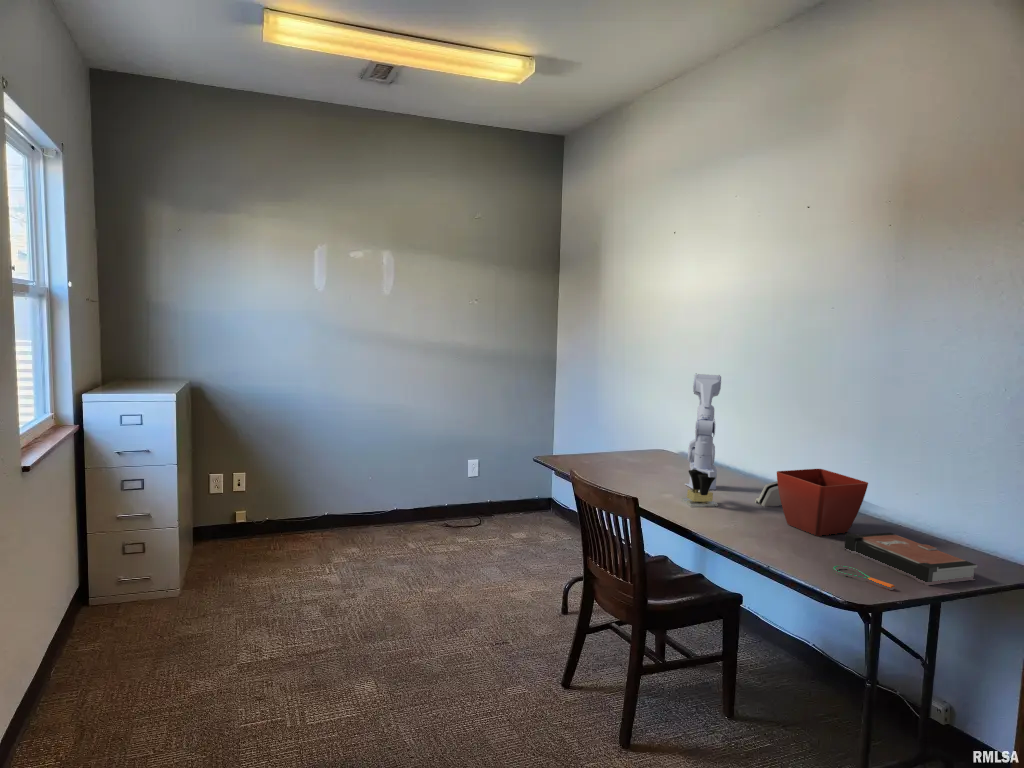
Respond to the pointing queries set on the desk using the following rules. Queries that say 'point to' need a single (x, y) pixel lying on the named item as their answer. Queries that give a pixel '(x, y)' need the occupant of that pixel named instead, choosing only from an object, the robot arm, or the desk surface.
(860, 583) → the desk surface
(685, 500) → the keeper plate
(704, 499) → the link
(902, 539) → the book
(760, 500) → the grey curved piece
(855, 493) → the plant pot
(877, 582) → the green orange wire loop
